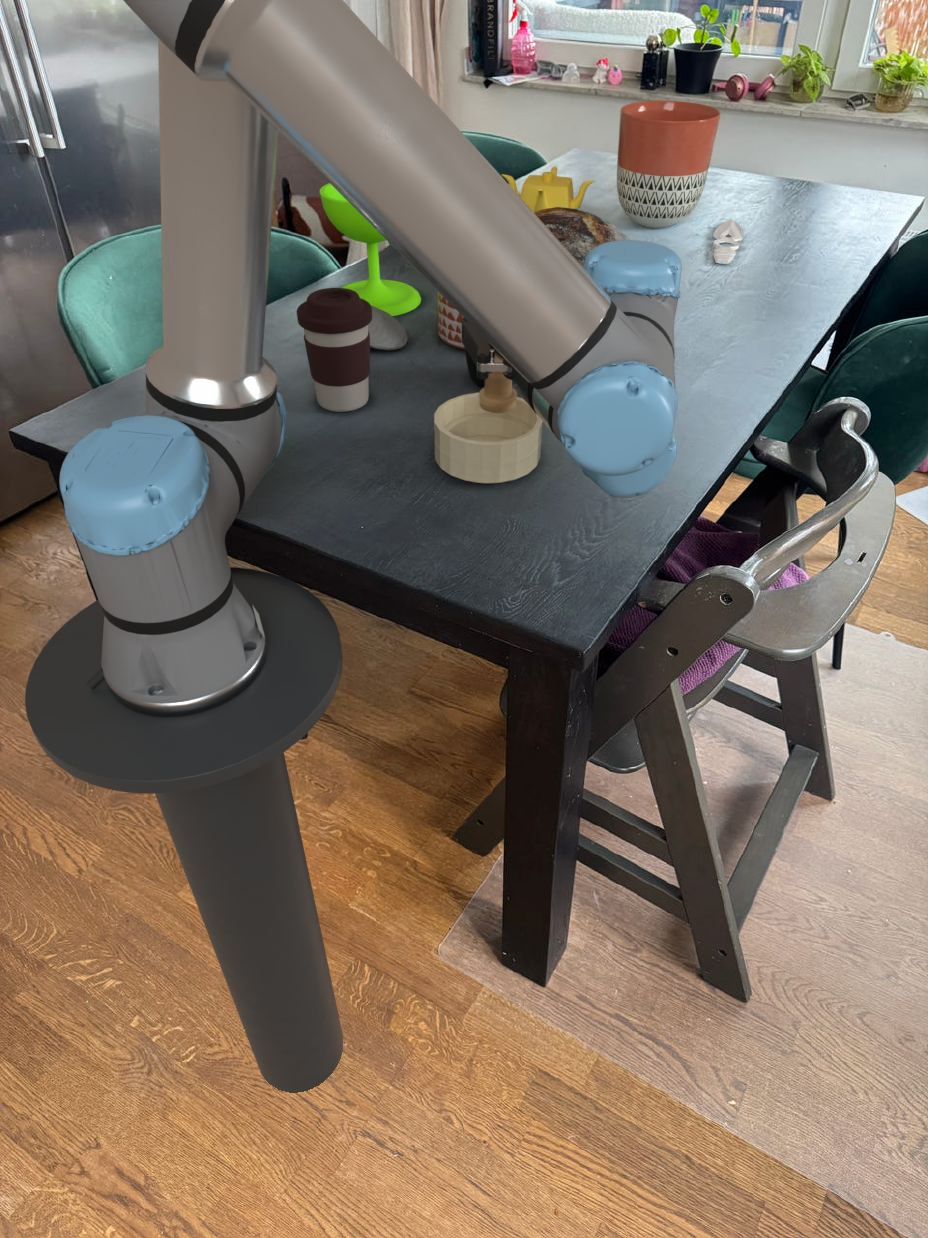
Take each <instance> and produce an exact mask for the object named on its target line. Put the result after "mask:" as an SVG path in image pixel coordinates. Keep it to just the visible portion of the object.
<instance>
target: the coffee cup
mask: <svg viewBox="0 0 928 1238" xmlns="http://www.w3.org/2000/svg"><path fill="white" fill-rule="evenodd" d="M296 319H297V323H298V325H299V326H300V327H301V328H302V329H303V333H304V334H303V341H304V347H305V351H306V357H307V361H308V367H309V372H310V376H311V379H312V380H313V384H314V389H315V395H316V400H317V403H318V405H319V406H320V407H321V408H322V409H324V410H327V411H330V412H334V413H335V412H336V413H347V412H352V411H356V410H358V409H360V408H362V407H364V406H365V405H366V404H367V403H368V401H369V397H370V393H369V392H370V391H369V389H370V387H369V385H370V381H369V380H370V379H369V378H370V377H369V376H370V374H371V347H370V332H369V330H368V324H369V323H370V322H371V321H372V307H371V305H370V303H369V302H367V301H366V300H364V299H361V298H360V297H359V295H358V293H356V292H355V291H353V290H350V289H346V288H341V287H326V288H320V289H317V290H315V291H313V292H311V293H309V294H308V296H307V297H306V300H305V301H304V302H302V303H300V305H298V307H297V309H296Z"/></svg>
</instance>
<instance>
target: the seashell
mask: <svg viewBox="0 0 928 1238" xmlns="http://www.w3.org/2000/svg"><path fill="white" fill-rule="evenodd" d="M371 307H372V321H371V322H370V323H369V324H368V330H369V332H370V348H372V349H375V350H379V351H380V350H382V351H395V350H399V349H402V348H403V347H405V346H406V344H407V343H408V333H407V331H406V329H405V327H404V325H403V324H402V323H400V321H399V320H397V318H395V316H391V315H390V314H388V313H387V312H385V311H383V310H381V309H379V308H376V307H374V306H371Z"/></svg>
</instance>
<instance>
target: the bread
mask: <svg viewBox="0 0 928 1238" xmlns="http://www.w3.org/2000/svg"><path fill="white" fill-rule="evenodd" d="M535 214H536V216H537V217H538V218H539V219H540V220H541V221H542V222H543V223H544V224H545V226H546V227H547V228H548V229H549V230H550V231H551V232H552V233H553V235H554V236H555V237H556V238H557V239H558V240H559V241H560V242H561V243H562V245H563V246H564V247H565V248H566V249H567V250H568V251H569V252H570V253H571V255H572V256H573V257H574V258H575V259H576V260H577V261H578V262H579V263H580V265H581V266H582V267H583V268H584V263H585V259H586V257H587V255H588V253H589V252H590V251H591V250H592V249H593V248H595V247H596V246H599V245H601V244H603V243H607V242H612V241H620V240H630V239H629V237H628V236H627V235H626V234H624V233H623V232H622V231H621V230H620V229H619V228H618V227H616V226H615V225H614V224H613V223H611V222H609V221H607V220H606V219H604V218H603V217H600V216H598V215H596V214H594V213H592V212H589V211H585V210H581V209H580V208H579V209H572V208H564V207H554V208H548V209H542V210H540V211H538V212H535Z"/></svg>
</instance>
